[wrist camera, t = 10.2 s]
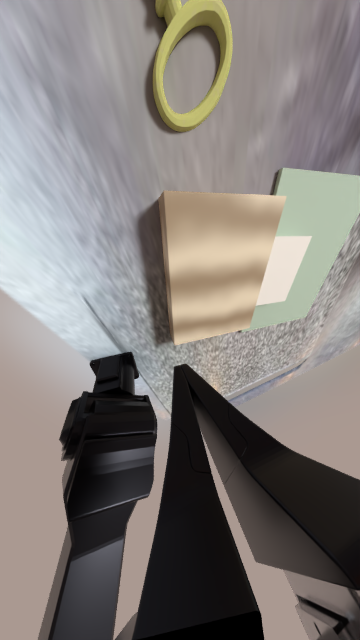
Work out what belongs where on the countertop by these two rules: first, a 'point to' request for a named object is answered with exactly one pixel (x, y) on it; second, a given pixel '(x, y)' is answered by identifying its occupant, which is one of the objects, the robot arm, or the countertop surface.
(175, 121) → the key
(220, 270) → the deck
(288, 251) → the white flat block
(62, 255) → the countertop surface
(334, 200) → the mat
